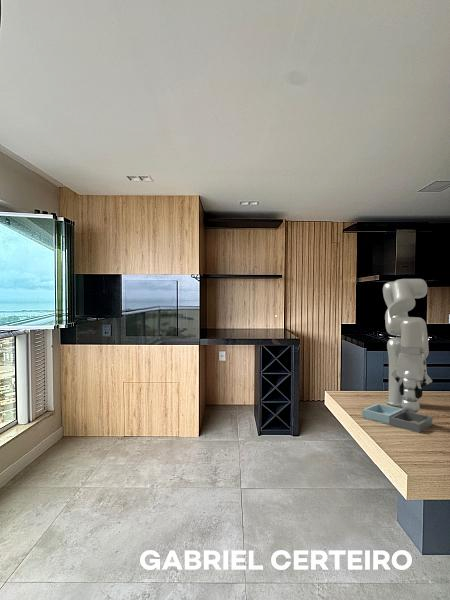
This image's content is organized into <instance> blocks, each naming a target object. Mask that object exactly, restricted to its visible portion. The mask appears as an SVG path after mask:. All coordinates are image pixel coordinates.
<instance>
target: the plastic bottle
mask: <svg viewBox="0 0 450 600" xmlns="http://www.w3.org/2000/svg"><path fill="white" fill-rule="evenodd" d="M402 379H403V399H402V403H401V405H402V407H401V409H403V410H404V411H406V412H410V413H418V412H419V411H420V408H421V407H420V401H419V399H420V398H419V399H417V398H416V389H417V388H418V386H417V381H416V377H415V375H414V374H413V373H412V372H410V371H407V372H405V373H403V378H402Z"/></svg>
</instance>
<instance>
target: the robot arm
mask: <svg viewBox="0 0 450 600" xmlns="http://www.w3.org/2000/svg"><path fill="white" fill-rule="evenodd" d="M427 293H428V285H427V282H426V281H425V280H424V279H422V278H401V279H396V280H394V281H388V282H386V283H384V284H383V287H382V294H383V295H382V296H383V299H384V302H385V305H386V306H387V309H386V311H385V314H384V320H385V329H386V332H387V333H388V334H389V335H391V336H396V337H391V338H389V339H388V341H387V342H386V343H387V344H386V349H387V354H388V356H387V357H388V398H385V400H384V402H385V403H386V405H387V404H388V406H392V407H397V408H402V405H401V403H402V399H403V379H402V378H403V373H405V372H407V371H410V372H412V373H413V374H414V375H415V377H416V381H417V386H418V388H417V389H416V398H417V399H421V398H422V397H423V388H425V387H426V386H427V385H429V384H430V383H432V382H433V379H432V378H431V377H430V376H429V375H428V372H427V370H428V369H427V360H426V359H427V357H428V356H429V353H430V352H429V350H430V349H429V340H428V329H427V324H426V323H427V322H426V321H425V319H423V318H422V317H419V316H417V317H415V316H409V313H408V312H410V311H412V310H413V309H414V308H415V307H416V300H415V299H421V298H422V299H423V298H424V297H426V295H427ZM424 380H425V381H424Z"/></svg>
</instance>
